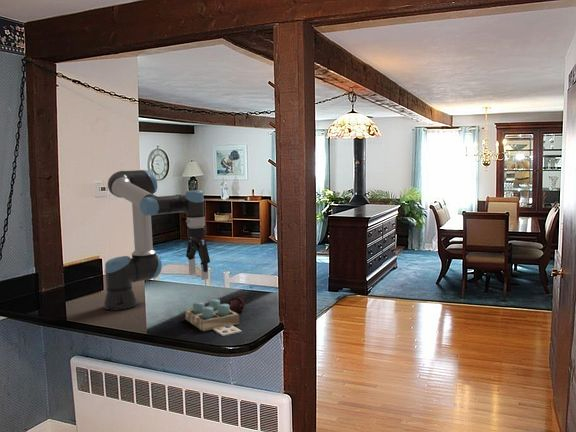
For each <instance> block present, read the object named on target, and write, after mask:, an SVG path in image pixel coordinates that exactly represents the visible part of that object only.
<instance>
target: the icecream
mask: <svg viewBox="0 0 576 432" xmlns="http://www.w3.org/2000/svg"><path fill="white" fill-rule="evenodd" d="M245 300H246V296H245V295H242V296H240V297H237V296H236V297H235V296H234V297H232V298H231V299H229V300H228V304H229V307H230V310H231V311H233V312H235V313H240V312H241V311H242V310H243V309H244V308H245Z"/></svg>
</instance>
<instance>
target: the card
mask: <svg viewBox="0 0 576 432" xmlns="http://www.w3.org/2000/svg"><path fill="white" fill-rule="evenodd" d="M212 330H213V331H215V332H216V333H217V334H219V335H221V336H222V337H224V336H225V337H226V336H230V335H234V334H238V333H242V330H241V329H239V328H238V327H236V326H235V325H231V324H230V325H225V326H220V327H215V328H213V329H212Z"/></svg>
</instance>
